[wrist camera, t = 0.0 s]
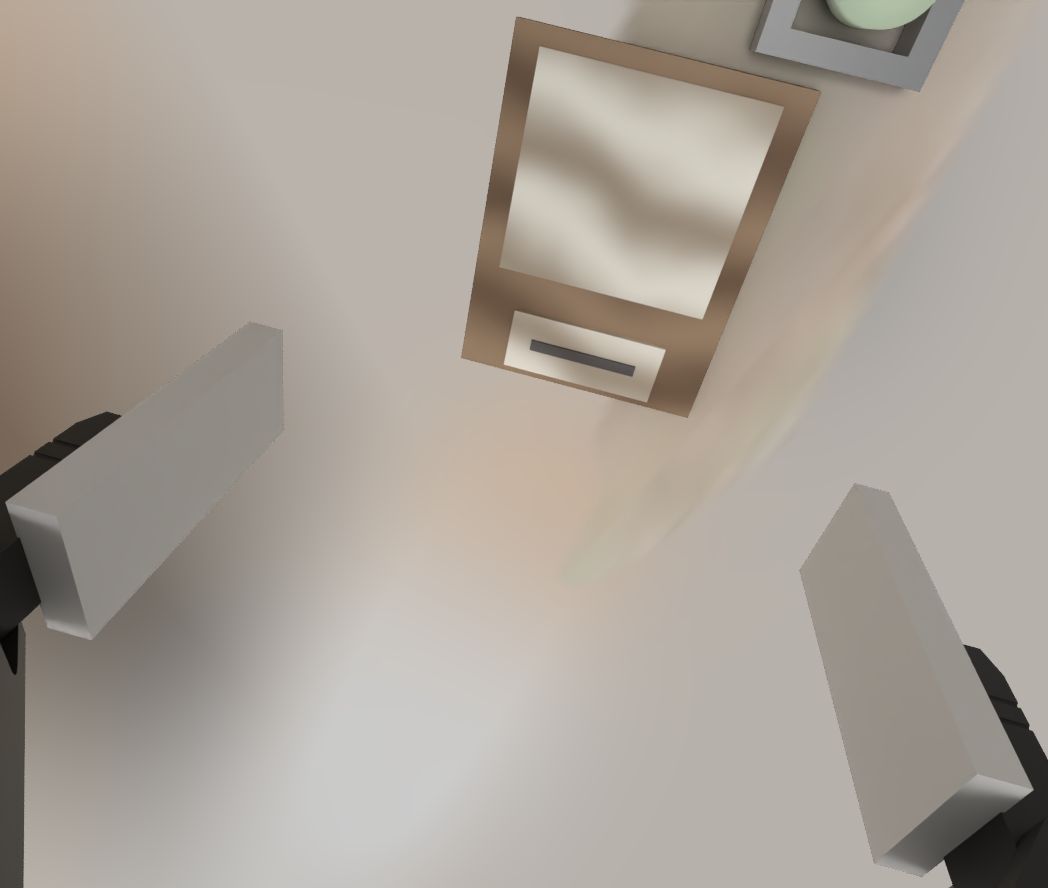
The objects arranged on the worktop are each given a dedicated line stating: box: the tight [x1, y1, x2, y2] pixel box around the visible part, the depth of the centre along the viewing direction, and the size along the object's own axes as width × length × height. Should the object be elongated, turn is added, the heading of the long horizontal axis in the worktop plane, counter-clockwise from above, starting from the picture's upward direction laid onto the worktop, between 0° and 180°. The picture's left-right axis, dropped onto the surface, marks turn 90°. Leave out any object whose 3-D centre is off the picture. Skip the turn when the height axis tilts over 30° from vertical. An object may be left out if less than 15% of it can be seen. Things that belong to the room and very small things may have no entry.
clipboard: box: [461, 17, 821, 418], centre depth 39 cm, size 20×16×2 cm
